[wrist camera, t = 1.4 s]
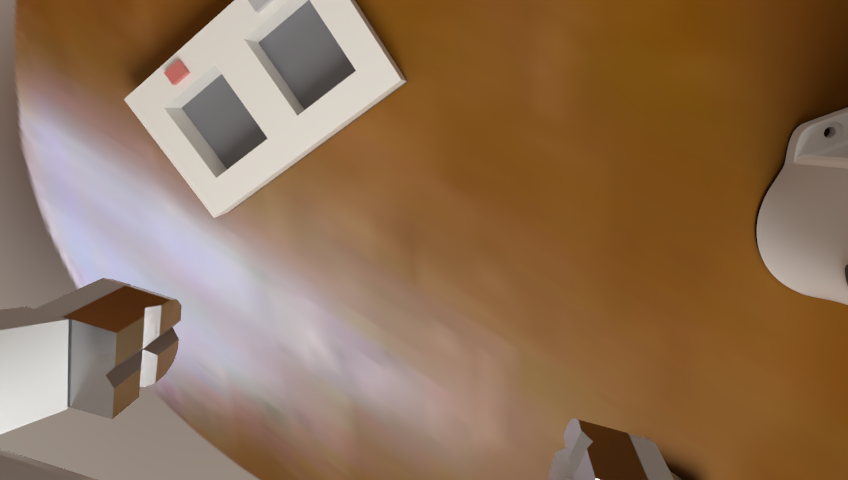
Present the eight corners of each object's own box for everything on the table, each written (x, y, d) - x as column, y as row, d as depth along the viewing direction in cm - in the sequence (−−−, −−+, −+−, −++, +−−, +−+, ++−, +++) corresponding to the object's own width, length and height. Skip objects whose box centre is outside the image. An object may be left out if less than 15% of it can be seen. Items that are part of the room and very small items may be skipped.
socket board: (321, -54, 39) (305, -69, 36) (407, 81, 41) (400, 79, 38) (147, 99, 45) (119, 99, 42) (230, 211, 47) (210, 219, 44)
